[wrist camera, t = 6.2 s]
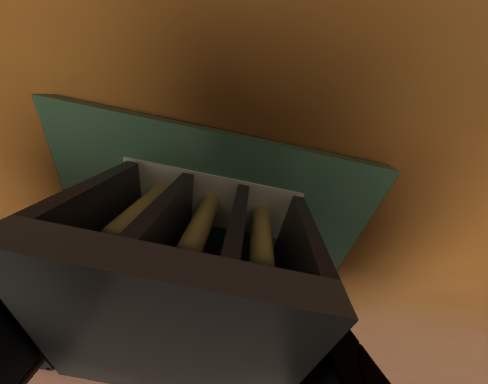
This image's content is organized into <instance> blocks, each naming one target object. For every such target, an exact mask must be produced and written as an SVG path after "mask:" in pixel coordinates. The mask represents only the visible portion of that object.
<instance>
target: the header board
mask: <svg viewBox="0 0 488 384" xmlns="http://www.w3.org/2000/svg"><path fill="white" fill-rule="evenodd" d="M32 97H33V101H34V104H35V107H36V110H37V113H38V116H39V119H40V122H41V125H42V128H43V131H44V134H45V137H46V140H47V143H48V146H49V149H50V152H51V155H52V158H53V161H54V164H55V167H56V170H57V173H58V176H59V179H60V182H61V185H62V188H63V190H65V189H68V188H70V187H72V186H74V185H76V184H78V183H80V182H82V181H85V180H87V179H89V178H91V177H93V176H95V175H97V174H100V173H102V172H104V171H106V170H108V169H110V168H112V167H115V166H117V165H119V164H121V163H123V162H125V161H131V162H136V163H138V166H139V177H140V187H141V197H140V198H139V199H138V200H137V201H136V202H134V203H133V204H132V205H131V206H130V207H128V208H127V209H126V210H125V211H124V212H122V213H121V214H120V215H119V216H118V217H116V218H115V219H114V220H113V221H112V222H110V223H109V224H108V225H107V226H105V227H104V228H103V229H102V231H101V232H102V233H107V234H112V235H118V234H119V233H121V232H122V231H123V230H124V229H125V228H126V227H127V226H128V225H129V224H130V223H131V222H132V221H133V220H134V219H135V218H136V217H137V216H138V215H139V214H140V213H141V212H142V211H143V210H144V209H145V208H146V207H148V206H149V205H150V204H151V203H152V202H153V201H154V200H155V199H156V198H157V197H158V196H159V195H160V194H161V193H162V192H163V191H164V190H165V189H166V188H167V187H168V186H169V185H170V184H171V183H172V182H174V181H175V180H176V179H177V178H178V177H179V176H180V175H181V174H182V173H183V172H184V173H188V174H193V175H194V185H193V201H192V217H191V221H190V223H189V225H188V227H187V228H186V230H185V232H184V234H183V235H182V237H181V239H180V241H179V242H178V244H177V246H176V247H177V248H182V249H187V250H192V251H197V252H202V253H203V250H204V247H205V245H206V244H207V245H212V246H217V247H223V243H224V239H225V235H226V231H227V227H228V223H229V219H230V215H231V211H232V207H233V204H234V200H235V196H236V192H237V188H238V184H241V185H246V186H249V194H248V202H247V211H246V219H245V227H244V236H243V244H242V252H247V253H249V262H252V263H257V264H262V265H267V266H272V267H275V263H274V252H273V248H274V245H275V243H276V240H277V237H278V235H279V232H280V229H281V227H282V224H283V221H284V219H285V216H286V213H287V211H288V208H289V205H290V202H291V200H292V197H293V195H294V196H299V197H304V199H305V201H306V203H307V205H308V208H309V210H310V212H311V214H312V217H313V219H314V221H315V223H316V226H317V228H318V230H319V232H320V235H321V237H322V239H323V241H324V244H325V246H326V248H327V250H328V253H329V255H330V257H331V259H332V262H333V264H334V266H335V268H336V271H337V269H338V268H339V266H340V265H341V263H342V262H343V260H344V259H345V257H346V256H347V254H348V253H349V251H350V249H351V248H352V246H353V245H354V243H355V242H356V240H357V239H358V237H359V236H360V234H361V233H362V231H363V229H364V228H365V226H366V225H367V223H368V222H369V220H370V219H371V217H372V216H373V214H374V213H375V211H376V210H377V208H378V206H379V205H380V203H381V202H382V200H383V199H384V197H385V196H386V194H387V193H388V191H389V190H390V188H391V187H392V185H393V183H394V182H395V180H396V179H397V177H398V176H399V174H400V173H401V171H399V170H397V169H395V168H393V167H391V166H389V165H386V164H381V163H377V162H372V161H367V160H362V159H358V158H353V157H348V156H343V155H339V154H334V153H329V152H325V151H320V150H315V149H310V148H306V147H301V146H296V145H291V144H287V143H282V142H277V141H272V140H268V139H263V138H258V137H253V136H249V135H244V134H239V133H234V132H230V131H225V130H220V129H215V128H211V127H206V126H201V125H196V124H192V123H187V122H182V121H177V120H173V119H168V118H163V117H158V116H154V115H149V114H144V113H139V112H135V111H130V110H125V109H120V108H116V107H111V106H106V105H101V104H97V103H92V102H87V101H82V100H78V99H73V98H68V97H63V96H59V95H54V94H32Z"/></svg>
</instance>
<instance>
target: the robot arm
mask: <svg viewBox="0 0 488 384" xmlns="http://www.w3.org/2000/svg"><path fill="white" fill-rule="evenodd" d="M38 369H44V370H49V371H53V370H54V369H55V368H54V367H53V366H52V364H51V363H50V362H49V361H48V359H47V358H46V357H45V355H44V354H43V353H42V352H41V350H40V349H39V348H38V347H37V345H36V344H35V343H34V341H33V340H32V339H31V338H30V336H29V335H28V334H27V332H26V331H25V330H24V329H23V327H22V326H21V325H20V323H19V322H18V321H17V320H16V318H15V317H14V316H13V315H12V313H11V312H10V311H9V309H8V308H7V307H6V306H5V304H4V303H3V302H2V300H1V299H0V384H27V383H28V382H29V380H30V379H31V378H32V377H33V376H34V374H35V373H36V372H37V371H38ZM299 384H391V383H390V382H389V380H388V379H387V378H386V377H385V375H384V374H383V373H382V371H381V370H380V369H379V367H378V366H377V365H376V364H375V362H374V361H373V360H372V358H371V357H370V356H369V354H368V353H367V352H366V350H365V349H364V347H363V346H362V345H361V344H359V341H358V340H357V338H356V337H355V335H354V334H353V333H352V331H351V330H349V331H348V332H347V333H346V334H345V335H344V336H343V337H342V338H341V339H340V341H339V342H338V343H337V344H336V345H335V346H334V347H333V348H332V349H331V350H330V351H329V352H328V353H327V354H326V356H325V357H324V358H323V359H322V360H321V361H320V362H319V363H318V364H317V365H316V366H315V367H314V368H313V369H312V371H311V372H310V373H309V374H308V375H307V376H306V377H305V378H304V379H303V380H302V381H301V382H300V383H299Z"/></svg>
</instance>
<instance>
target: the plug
mask: <svg viewBox="0 0 488 384" xmlns="http://www.w3.org/2000/svg"><path fill="white" fill-rule="evenodd" d="M193 185H194V175H193V174H188V173H184V172H183V173H182V174H181V175H180V176H179V177H178V178H177V179H176V180H175V181H174V182H172V183H171V184H170V185H169V186H168V187H167V188H166V189H165V190H164V191H163V192H162V193H161V194H160V195H159V196H158V197H157V198H156V199H155V200H154V201H153V202H152V203H151V204H150V205H149V206H148V207H146V208H145V209H144V210H143V211H142V212H141V213H140V214H139V215H138V216H137V217H136V218H135V219H134V220H133V221H132V222H131V223H130V224H129V225H128V226H127V227H126V228H125V229H124V230H123V231H122V232H121V233H119V234H118V235H112V234H107V233H102V232H101V231H102V229H103V228H104V227H105V226H107V225H108V224H109V223H110V222H112V221H113V220H114V219H115V218H116V217H118V216H119V215H120V214H121V213H122V212H124V211H125V210H126V209H127V208H128V207H130V206H131V205H132V204H133V203H134V202H136V201H137V200H138V199H139V198H140V197H141V187H140V177H139V166H138V163H136V162H131V161H125V162H123V163H121V164H119V165H117V166H115V167H112V168H110V169H108V170H106V171H104V172H102V173H100V174H97V175H95V176H93V177H91V178H89V179H87V180H85V181H82V182H80V183H78V184H76V185H74V186H72V187H70V188H68V189H65V190H63V191H61V192H59V193H57V194H55V195H53V196H50V197H48V198H46V199H44V200H42V201H40V202H38V203H36V204H33V205H31V206H29V207H27V208H25V209H23V210H21V211H18V212H16V213H14V214H12V215H10V216H8V217H6V218H4V219H1V220H0V299H1V300H2V302H3V303H4V304H5V306H6V307H7V308H8V309H9V311H10V312H11V313H12V315H13V316H14V317H15V318H16V320H17V321H18V322H19V323H20V325H21V326H22V327H23V329H24V330H25V331H26V332H27V334H28V335H29V336H30V338H31V339H32V340H33V341H34V343H35V344H36V345H37V347H38V348H39V349H40V350H41V352H42V353H43V354H44V355H45V357H46V358H47V359H48V361H49V362H50V363H51V364H52V366H53V367H54V368H55V370H56V371H57V372H58V373H59V374H61V375H66V376H72V377H77V378H83V379H88V380H94V381H99V382H104V383H110V384H299V383H300V382H301V381H302V380H303V379H304V378H305V377H306V376H307V375H308V374H309V373H310V372H311V371H312V369H313V368H314V367H315V366H316V365H317V364H318V363H319V362H320V361H321V360H322V359H323V358H324V357H325V356H326V354H327V353H328V352H329V351H330V350H331V349H332V348H333V347H334V346H335V345H336V344H337V343H338V342H339V341H340V339H341V338H342V337H343V336H344V335H345V334H346V333H347V332H348V331H349V330H350V329H351V328H352V327H353V326H354V324H355V323H356V322H357V321H358V318H357V316H356V313H355V311H354V309H353V307H352V304H351V302H350V300H349V298H348V295H347V293H346V291H345V289H344V286H343V284H342V282H341V280H340V277H339V275H338V273H337V271H336V268H335V266H334V264H333V262H332V259H331V257H330V255H329V253H328V250H327V248H326V246H325V244H324V241H323V239H322V237H321V235H320V232H319V230H318V228H317V226H316V223H315V221H314V219H313V217H312V214H311V212H310V210H309V208H308V205H307V203H306V201H305V199H304V197H299V196H294V195H293V197H292V200H291V202H290V205H289V208H288V211H287V213H286V216H285V219H284V221H283V224H282V227H281V229H280V232H279V235H278V237H277V240H276V243H275V245H274V248H273V252H274V263H275V267H272V266H267V265H262V264H257V263H252V262H249V253H247V252H242V244H243V236H244V227H245V219H246V211H247V202H248V194H249V186H246V185H241V184H238V188H237V192H236V196H235V200H234V204H233V207H232V211H231V215H230V219H229V223H228V227H227V231H226V235H225V239H224V243H223V247H217V246H212V245H207V244H206V245H205V247H204V250H203V253H202V252H197V251H192V250H187V249H182V248H177V247H176V246H177V244H178V242H179V241H180V239H181V237H182V235H183V234H184V232H185V230H186V228H187V227H188V225H189V223H190V221H191V217H192V201H193Z"/></svg>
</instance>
